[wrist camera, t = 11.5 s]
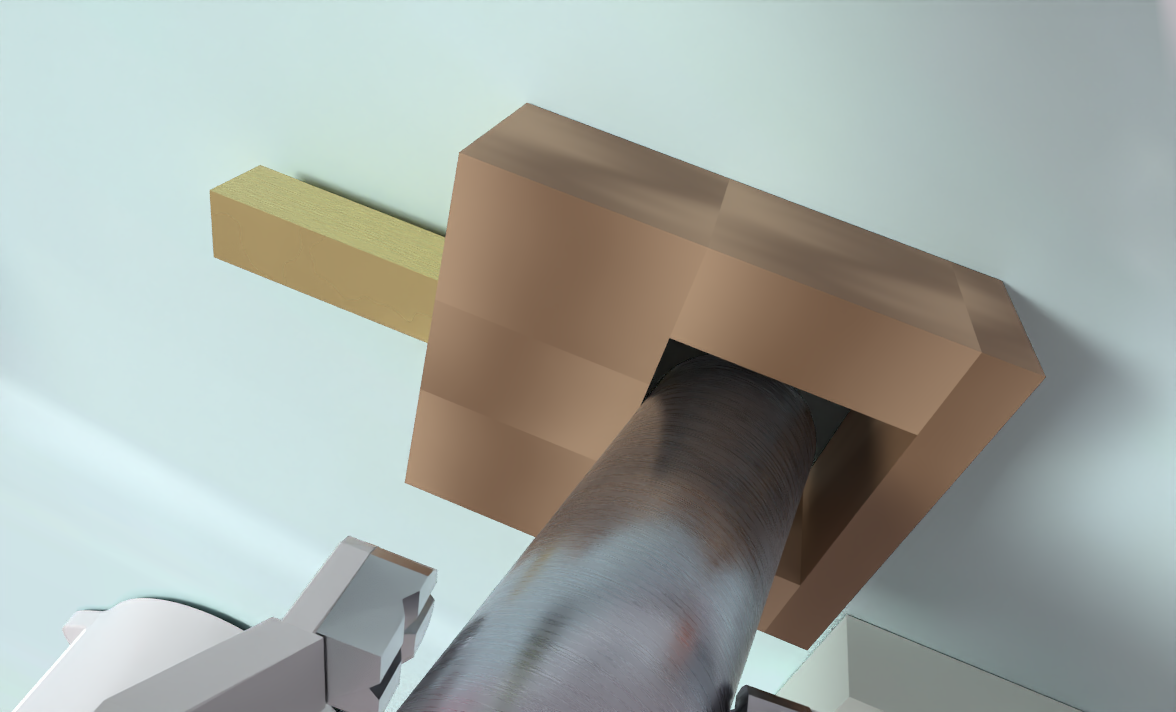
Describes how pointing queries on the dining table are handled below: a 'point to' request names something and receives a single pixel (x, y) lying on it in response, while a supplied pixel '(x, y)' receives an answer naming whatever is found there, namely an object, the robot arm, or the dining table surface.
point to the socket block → (699, 343)
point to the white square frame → (900, 678)
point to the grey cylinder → (645, 561)
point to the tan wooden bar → (328, 248)
